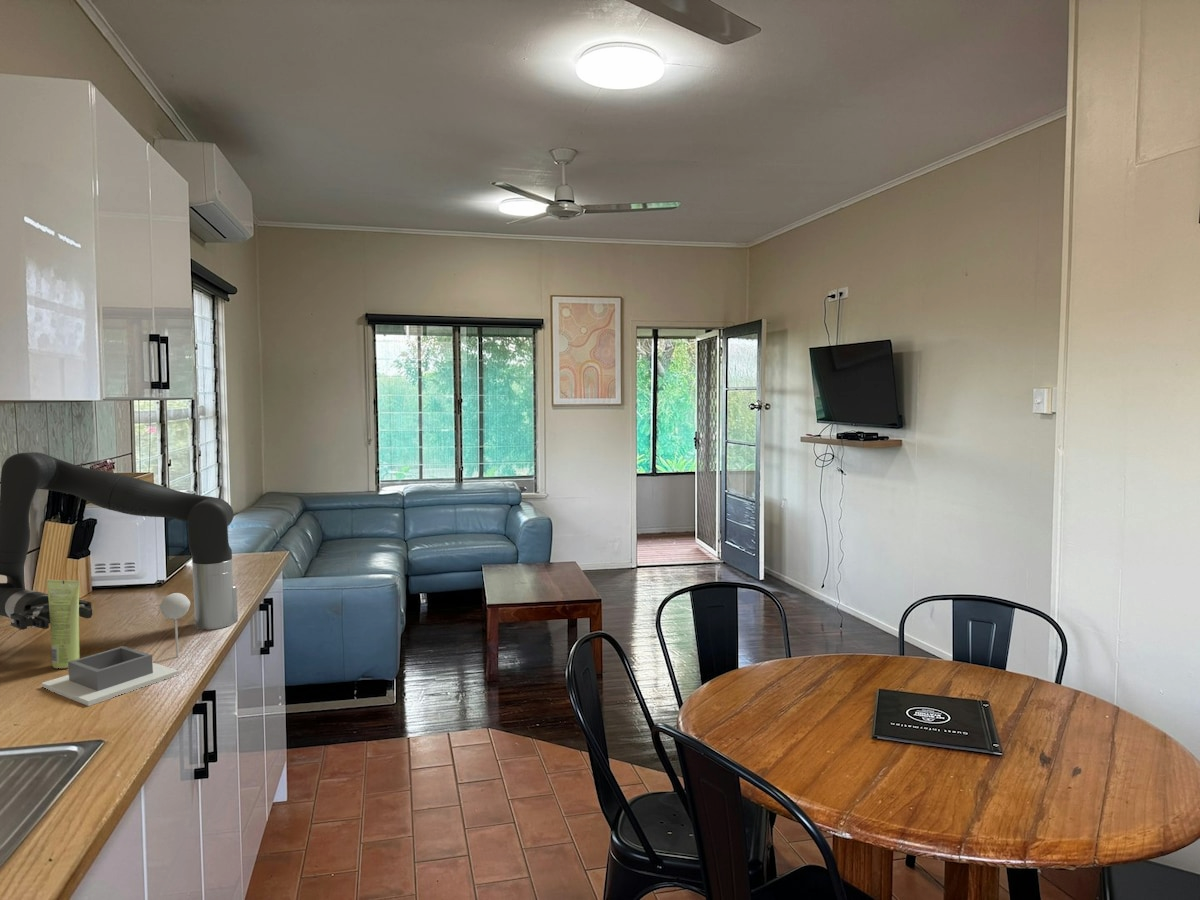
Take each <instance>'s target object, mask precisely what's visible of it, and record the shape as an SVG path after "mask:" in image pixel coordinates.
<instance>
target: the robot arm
mask: <svg viewBox="0 0 1200 900" xmlns="http://www.w3.org/2000/svg"><path fill="white" fill-rule="evenodd" d="M0 473H1V474H0V576H5V577H6V580H7V581H6V582H0V616H2V617H6V618H8V619H10V626H11V627H14V628H16V629H19V630H21V631H23V630H26V629H28V627H31V628H35V629H36V628H38V629H43V630H47V629H49V628H50V627H49V626H50V612H49V599H48V593H45V592H41V591H37V590H31V589H26V583H25V565H26V561H27V556H28V551H29V547H30V540H31V529H30V511H31V506H32V505H31V504H32V501H33V498H34V497H35V493H36V491H37V490H45V491H52V492H58V493H64V494H68V495H73V496H75V497H78V498H81V500H85V501H86V502H89V503H91V504H92V505H94V506H98V507H100V508H103V509H104V510H105V509H106V510H109V511H114V512H117V513H121V514H125V515H130V516H131V515H132V516H136V517H137V516H139V517H151V518H168V519H174V520H178V521H181V522H182V521H183V522H184V523H185V522H186V523H187V538H188V548H189V552H190V553H189V554H190V555H191V557H192V558H191V559H192V563H191V565H192V567H191V568H192V584H193V587H192V589H193V609H194V610H193V611H194V627H195V629H197V628H198V629H197V630H203V629H206V630H208V631H209V630H218V629H223V628H226V626H227V627H229V626H231V625H233V624H234V623H236V622H238V621H239V618H238V617H239V615H238V588H237V586H236V585H234V580H233V579H234V576H233V575H234V574H233V551H232V548H231V546H230V543H229V526H230V525H231V524H232V522H233V520H234V516H235V515H234V509H233V508H232V506H231V505H230V503H229V502H227V501H226V500H224V499H223V498H220V497H215V496H207V495H202V494H201V495H200V494H196V493H188V492H183V491H179V490H176V489H173V488H170V487H166V486H163V485H161V484H157V483H154V482H150V481H147V480H143V479H140V478H137V477H134V476H129V475H124V474H120V473H115V472H111V471H105V470H100V469H94V468H87V467H84V466H83V467H82V466H80V465H76V464H73V463H71V462H67V461H66V460H65V461H64V460H62V459H59V458H57V457H53V456H51V455H48V454H47V453H46V454H45V453H42V452H37V451H36V452H35V451H34V452H30V451H29V452H19V453H14V454H13V455H11V456H8V458H6V459H5V461H4V462H3V465H2V467H1V471H0ZM92 608H93V607H92V602H91V601H88V600H83V599H79V618H80V617H81V618H84V619H88V620H89V619H90V618H92V616H93V609H92Z"/></svg>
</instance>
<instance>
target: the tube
mask: <svg viewBox="0 0 1200 900" xmlns="http://www.w3.org/2000/svg"><path fill="white" fill-rule="evenodd" d="M80 584H81V583H80V580H64V579H63V580H62V579H46V587H47V589H46V590H47V594H48V599H49V612H50V623H49V626H50V627H49V628H50V640H51V659H52V668H54V669H58V668H59V669H69V668H68V662H70V661H73V660H77V659H80V658H81V657H80V616H79V600H80Z"/></svg>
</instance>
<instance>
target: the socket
mask: <svg viewBox="0 0 1200 900" xmlns="http://www.w3.org/2000/svg"><path fill="white" fill-rule="evenodd" d="M79 658H80V659H77V660H73V661H70V662H68V668H67V669H68V674H66V675H63V676H60V677H57V678H53V679H50V680H46V681H44V682H41V688H42V687H44V688H46V689H45V690H47V689H48V690H47V691H49V690H50V691H49V692H52V693H54V692H55V694H57V695H60V696H61V697H63V698H67V699H69V700H72V701H74V702H76V703H80V704H83V705H85V706H86V707H90V706H93V705H96V704H100V703H102V702H104V701H108V700H111V699H114V698H116V697H115V696H117V697H119V696H118V695H120V696H122V695H121V694H123V695H125V694H124V693H126V694H128V693H131V692H134V691H137V690H140V689H142V688H141V687H143V688H146V687H147V686H148V685H149V686H151V684H152V685H154V684H153V683H155V684H157V683H160V682H162V681H161V680H163V681H165V680H164V679H166V678H169V677H172V676H174V675H177V674H179V675H180V671H179V670H178V669H174V668H171V667H168V666H165V665H162V664H159V663H156V662H153V654H151V653H147V652H144V651H140V650H138V649H134V648H130V647H128V646H125V645H122V646H118V647H115V648H111V649H109V650H105V651H102V652H97V653H94V654H91V655H87V656H84V657H79ZM172 678H173V677H172ZM169 679H170V678H169ZM166 680H167V679H166ZM159 681H160V682H159ZM156 682H157V683H156ZM145 686H146V687H145ZM44 688H43V689H44ZM139 688H140V689H139ZM136 689H137V690H136ZM133 690H134V691H133ZM130 691H131V692H130ZM113 697H114V698H113Z"/></svg>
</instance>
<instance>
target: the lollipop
mask: <svg viewBox="0 0 1200 900" xmlns="http://www.w3.org/2000/svg"><path fill="white" fill-rule="evenodd" d="M190 607H191V601H190V599H189V598H188V597H187V596H186V595H185V594H183V593H181V592H180V593H179V592H174V593H171V594H168V595H166V596H165V597H164V598H163V599H162V600H161V603H160V604H159V609H160V611H161V614H162V615H163V617H165V618H167V619H170V620H174V632H175V633H174V634H175V657H176V656H179V638H178V637H179V636H178V619H180V618H183V617H184V616H185V615H187V614H188V611H189V610H190Z"/></svg>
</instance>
